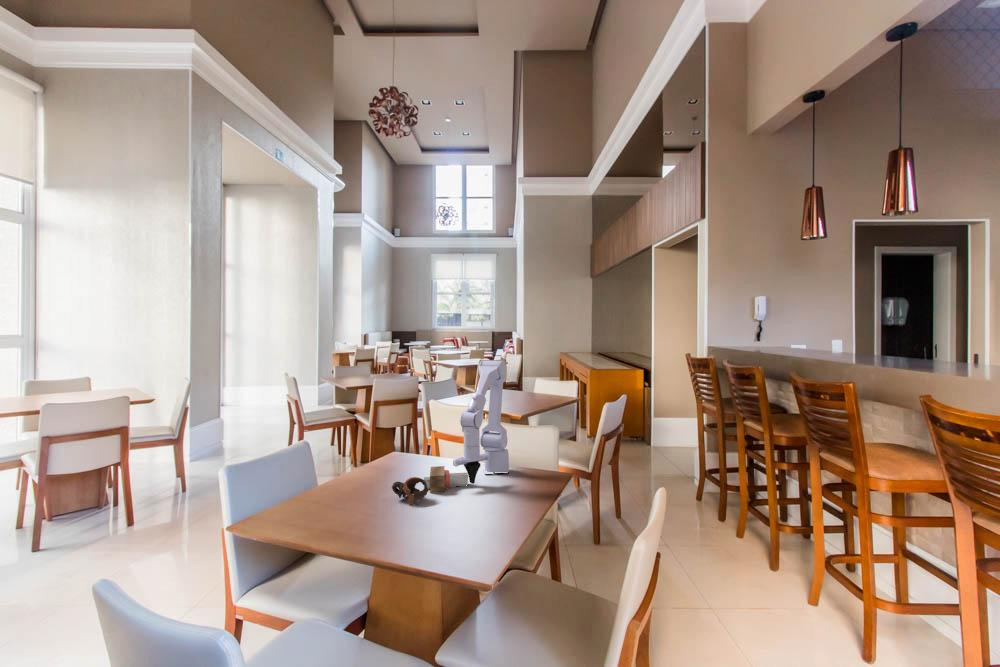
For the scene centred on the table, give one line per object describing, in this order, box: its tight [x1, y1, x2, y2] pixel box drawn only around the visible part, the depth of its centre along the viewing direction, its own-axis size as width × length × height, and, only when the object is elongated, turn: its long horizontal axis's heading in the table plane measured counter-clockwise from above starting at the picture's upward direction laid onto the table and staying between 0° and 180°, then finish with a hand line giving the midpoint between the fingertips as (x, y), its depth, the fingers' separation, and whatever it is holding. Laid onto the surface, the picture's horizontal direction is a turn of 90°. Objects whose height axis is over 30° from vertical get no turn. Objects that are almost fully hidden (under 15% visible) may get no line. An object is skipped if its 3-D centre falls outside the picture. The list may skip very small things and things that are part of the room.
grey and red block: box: [423, 469, 469, 489], centre depth 170 cm, size 16×6×5 cm, turn 101°
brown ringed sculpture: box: [391, 476, 429, 505], centre depth 156 cm, size 12×10×8 cm
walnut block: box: [429, 465, 446, 494], centre depth 169 cm, size 5×12×6 cm, turn 7°
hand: (472, 482), depth 171 cm, fingers closed
